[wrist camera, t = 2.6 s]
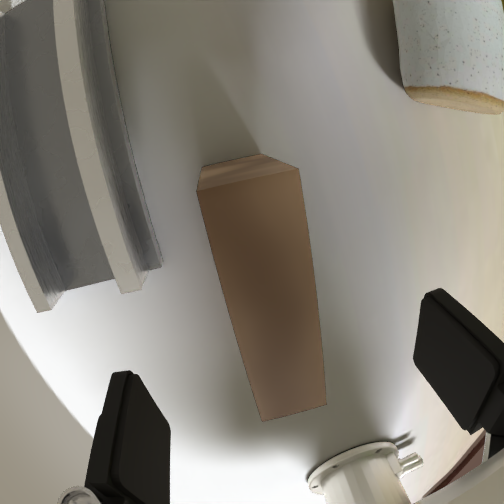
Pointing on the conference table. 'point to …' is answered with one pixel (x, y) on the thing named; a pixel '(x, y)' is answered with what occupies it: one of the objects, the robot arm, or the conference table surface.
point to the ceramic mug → (452, 53)
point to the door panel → (267, 278)
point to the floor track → (67, 155)
